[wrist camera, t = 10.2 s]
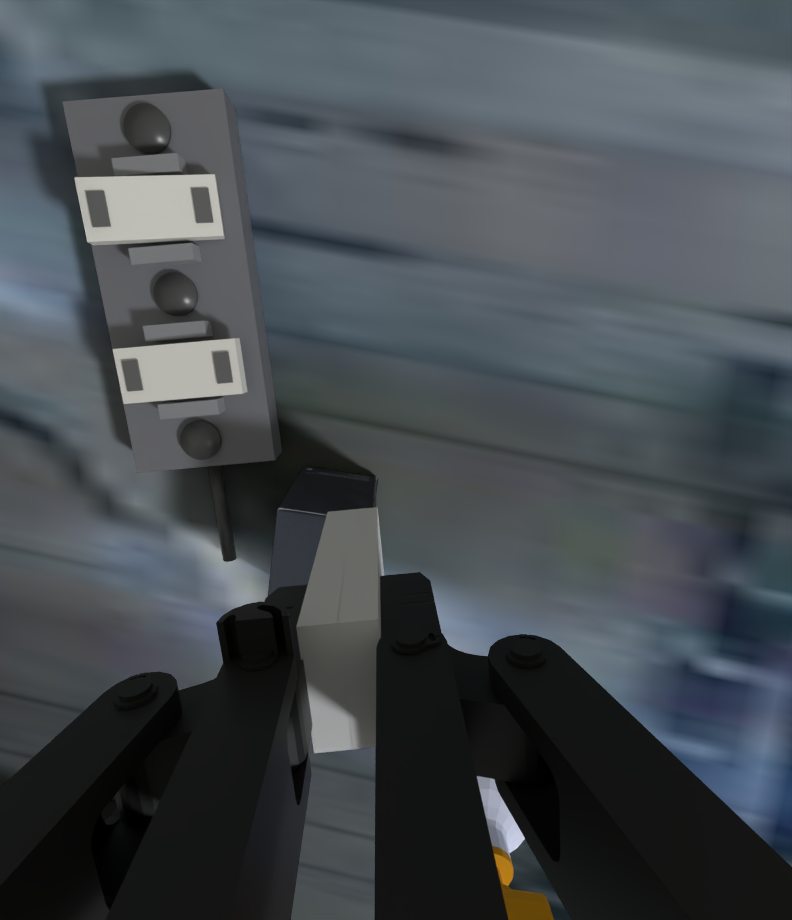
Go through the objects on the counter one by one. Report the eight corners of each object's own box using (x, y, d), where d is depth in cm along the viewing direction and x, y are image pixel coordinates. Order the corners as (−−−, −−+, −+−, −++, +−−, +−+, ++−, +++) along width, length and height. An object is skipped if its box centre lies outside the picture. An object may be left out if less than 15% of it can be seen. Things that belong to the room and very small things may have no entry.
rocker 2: (132, 401, 37) (122, 404, 36) (121, 348, 37) (111, 349, 35) (247, 391, 37) (242, 394, 36) (239, 338, 36) (233, 338, 35)
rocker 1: (92, 245, 34) (86, 241, 33) (80, 182, 33) (73, 176, 32) (224, 239, 36) (223, 235, 35) (216, 179, 35) (214, 173, 34)
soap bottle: (394, 748, 49) (411, 1142, 25) (416, 659, 47) (457, 996, 23) (490, 763, 50) (595, 1160, 26) (515, 676, 48) (655, 1020, 24)
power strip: (172, 558, 44) (149, 584, 40) (87, 119, 37) (47, 90, 32) (295, 547, 44) (286, 571, 40) (235, 107, 37) (215, 76, 33)
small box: (297, 463, 43) (272, 504, 33) (379, 474, 43) (380, 518, 33) (283, 585, 45) (255, 659, 35) (361, 595, 46) (356, 671, 35)
